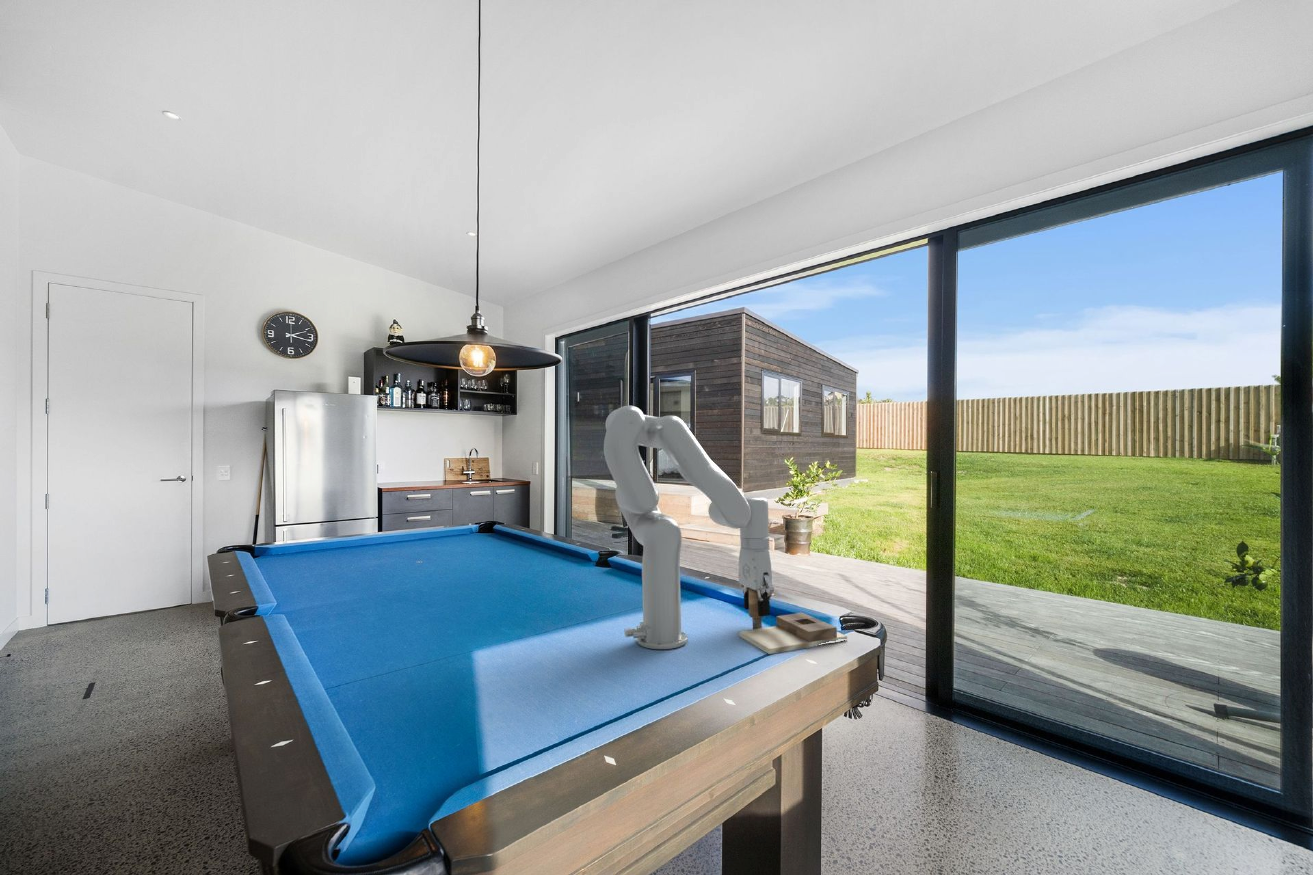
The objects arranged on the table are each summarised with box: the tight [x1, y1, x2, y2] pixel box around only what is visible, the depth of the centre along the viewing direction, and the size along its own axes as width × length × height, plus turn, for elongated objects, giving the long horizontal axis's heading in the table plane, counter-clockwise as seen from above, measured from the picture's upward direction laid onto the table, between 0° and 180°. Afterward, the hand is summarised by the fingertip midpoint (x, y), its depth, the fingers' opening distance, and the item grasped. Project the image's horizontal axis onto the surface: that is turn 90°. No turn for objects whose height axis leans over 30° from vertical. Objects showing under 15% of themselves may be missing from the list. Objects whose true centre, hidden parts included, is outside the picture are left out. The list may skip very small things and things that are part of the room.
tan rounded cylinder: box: [748, 588, 766, 630], centre depth 146 cm, size 4×4×10 cm
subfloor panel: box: [738, 612, 848, 655], centre depth 138 cm, size 22×14×4 cm, turn 111°
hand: (756, 611), depth 146 cm, fingers open, 6 cm apart
